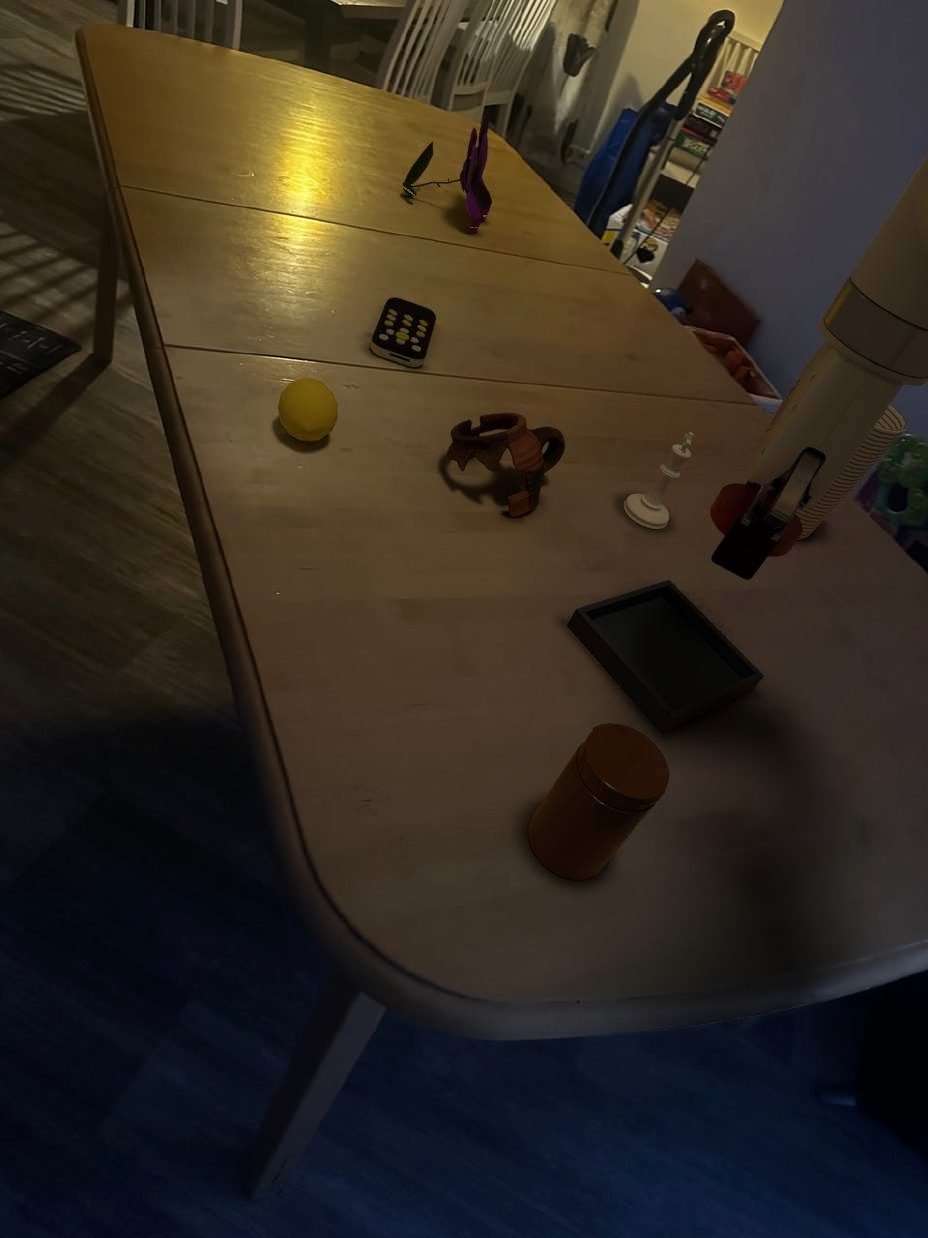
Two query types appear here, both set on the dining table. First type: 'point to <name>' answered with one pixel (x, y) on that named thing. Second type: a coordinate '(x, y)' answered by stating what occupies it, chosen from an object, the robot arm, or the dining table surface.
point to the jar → (598, 801)
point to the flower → (463, 174)
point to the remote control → (403, 332)
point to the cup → (855, 468)
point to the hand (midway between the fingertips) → (738, 543)
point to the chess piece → (658, 490)
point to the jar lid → (736, 503)
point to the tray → (664, 653)
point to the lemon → (308, 409)
